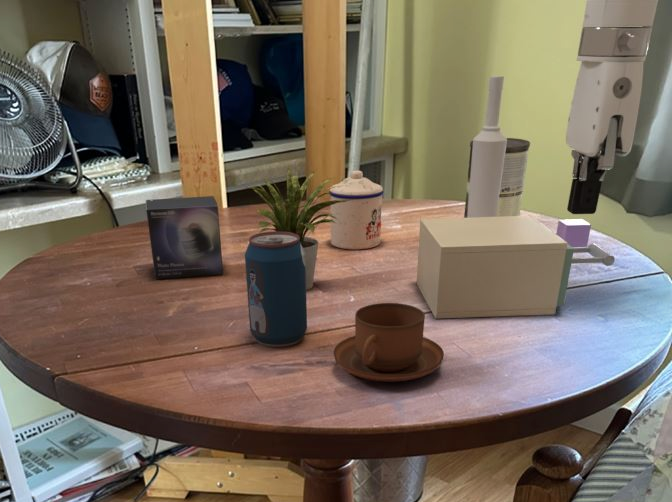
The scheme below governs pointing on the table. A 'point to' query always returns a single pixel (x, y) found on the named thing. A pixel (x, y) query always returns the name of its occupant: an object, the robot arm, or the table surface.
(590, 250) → the drawer
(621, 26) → the robot arm
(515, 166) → the coffee can
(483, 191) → the bottle
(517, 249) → the beige box
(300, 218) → the house plant
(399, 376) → the cup and saucer
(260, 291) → the soda can
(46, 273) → the table surface
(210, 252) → the small box
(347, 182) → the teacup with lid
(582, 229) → the purple cube
